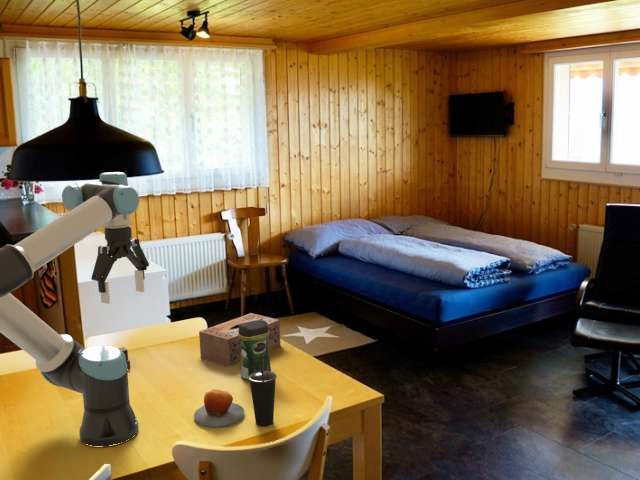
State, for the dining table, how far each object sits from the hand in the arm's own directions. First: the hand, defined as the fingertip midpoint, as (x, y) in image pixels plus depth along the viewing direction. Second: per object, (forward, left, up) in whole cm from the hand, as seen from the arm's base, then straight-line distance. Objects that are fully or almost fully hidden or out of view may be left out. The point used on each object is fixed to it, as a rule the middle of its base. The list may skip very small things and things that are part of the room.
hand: (123, 297), depth 197 cm
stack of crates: (+16, +22, -33) cm, 42 cm away
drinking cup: (+5, -46, -32) cm, 56 cm away
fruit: (+2, -32, -31) cm, 44 cm away
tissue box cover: (+47, -6, -32) cm, 58 cm away
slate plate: (+2, -32, -32) cm, 45 cm away
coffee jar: (+31, -24, -32) cm, 51 cm away
